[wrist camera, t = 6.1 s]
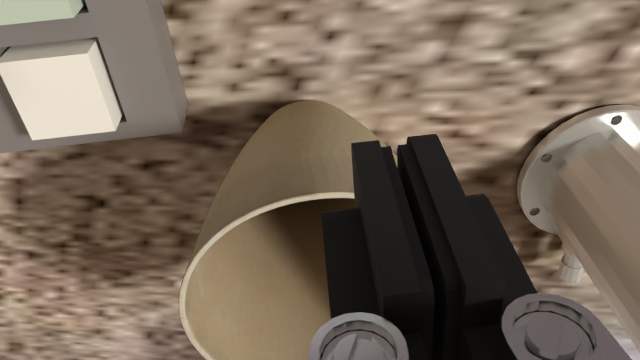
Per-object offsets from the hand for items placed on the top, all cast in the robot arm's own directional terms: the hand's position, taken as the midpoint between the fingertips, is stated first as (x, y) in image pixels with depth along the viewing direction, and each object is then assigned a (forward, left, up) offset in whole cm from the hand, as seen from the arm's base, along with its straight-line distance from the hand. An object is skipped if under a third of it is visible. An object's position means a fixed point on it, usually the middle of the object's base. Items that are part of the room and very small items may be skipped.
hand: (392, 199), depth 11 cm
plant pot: (-15, +1, -25) cm, 29 cm away
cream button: (-7, +15, -23) cm, 28 cm away
